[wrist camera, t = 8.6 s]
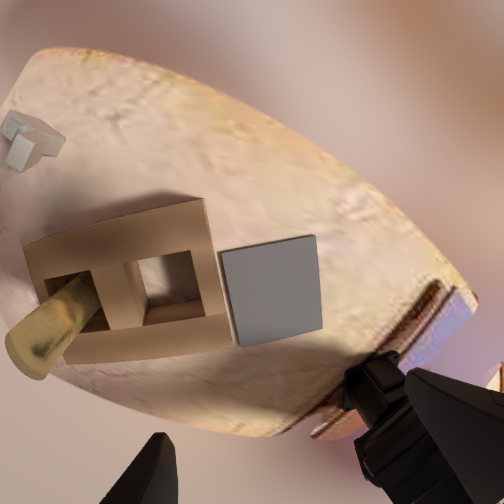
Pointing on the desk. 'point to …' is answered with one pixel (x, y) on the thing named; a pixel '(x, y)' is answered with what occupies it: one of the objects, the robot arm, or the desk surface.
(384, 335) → the desk surface
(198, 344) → the hole block
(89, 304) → the peg
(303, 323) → the mat
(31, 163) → the lighter
